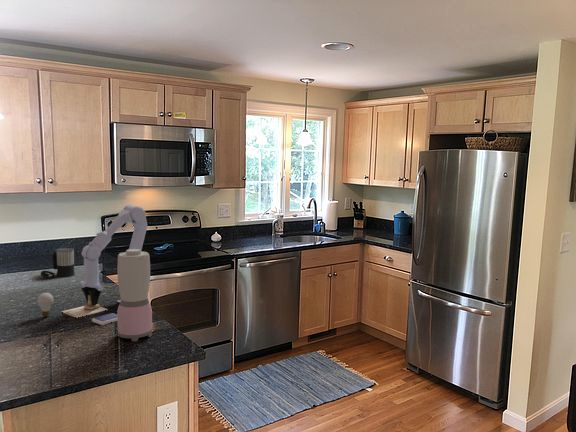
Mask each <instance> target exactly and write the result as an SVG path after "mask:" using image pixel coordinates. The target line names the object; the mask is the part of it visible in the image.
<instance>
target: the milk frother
mask: <svg viewBox="0 0 576 432" xmlns="http://www.w3.org/2000/svg"><path fill="white" fill-rule="evenodd" d="M51 256H52V268H53V270H57V271H56V273H55V272H53V271H50V270H43V271H41V272H40V276H41V277H43V278H45V279H54V278H55V275H56V277H62V278H66V277H73V276H74V275H76V273H75V248H72V247H61V248H57V249H56V250H54V251H53V252H52V254H51Z"/></svg>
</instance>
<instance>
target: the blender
mask: <svg viewBox="0 0 576 432" xmlns="http://www.w3.org/2000/svg"><path fill="white" fill-rule="evenodd" d="M150 258H151V257H150V253H149V252H147V251H142V250H140V249H129V248H128V249H126V250H125V252H123V251H122V252H120V253H119V254H117V268H116V270H117V285H118V286H117V287H118V291H119V295H120V300H121V302H120V303H119V305H118V307H117V311H116V312H117V313H116V315H117V321H116V323H117V336H119V337H120V338H122V339H131V342H132V341H134V342H138V341H139V338H144V337H147V338H150V337H152V335H153V311H152V310H153V309H152V305H151V303H150V301H149V291H150V283H151V262H150V260H151V259H150Z"/></svg>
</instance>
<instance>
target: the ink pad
mask: <svg viewBox="0 0 576 432" xmlns="http://www.w3.org/2000/svg"><path fill="white" fill-rule="evenodd" d="M91 322H93V323H95V324H98V325H100V326H104V325H107V324H112V323H115V322H117V313H116V314H115V313H113V312H112V313H111V312H110V313H107V314H103V315H99V316H96V317H93V318H91ZM111 322H112V323H111Z"/></svg>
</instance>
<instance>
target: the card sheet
mask: <svg viewBox="0 0 576 432" xmlns="http://www.w3.org/2000/svg"><path fill="white" fill-rule="evenodd" d="M105 310H106V311H108V310H109V309H108V308H105V307H102V306H100V308H98V309H95V310H92V311H91V310H86V309H84V305H82V306H79V307H74V308H70V309H65V310H62V311H61V313H62V312H63V313H62V314H65V315H67V316H70V317H73V318H75V317H76V319H78V317H79V318H82V316H83V317H86V315H87V316H89V315H93V314H96V313H101V312H104V311H105Z"/></svg>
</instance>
